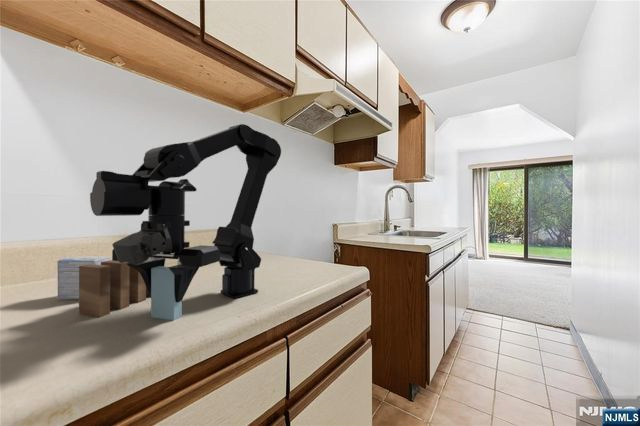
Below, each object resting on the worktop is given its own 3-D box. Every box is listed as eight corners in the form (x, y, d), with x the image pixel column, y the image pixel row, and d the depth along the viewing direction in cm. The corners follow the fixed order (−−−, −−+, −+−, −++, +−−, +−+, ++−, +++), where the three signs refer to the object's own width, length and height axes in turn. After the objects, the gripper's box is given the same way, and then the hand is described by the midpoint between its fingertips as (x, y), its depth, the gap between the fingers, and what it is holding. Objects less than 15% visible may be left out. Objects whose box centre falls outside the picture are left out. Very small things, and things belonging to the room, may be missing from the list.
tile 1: (159, 313, 49) (159, 266, 49) (181, 316, 48) (182, 267, 48) (151, 317, 47) (151, 268, 47) (174, 320, 46) (174, 270, 46)
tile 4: (109, 303, 54) (110, 260, 53) (129, 306, 52) (129, 261, 52) (100, 306, 52) (100, 262, 52) (120, 309, 51) (120, 263, 51)
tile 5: (89, 310, 50) (89, 264, 50) (110, 313, 49) (110, 265, 49) (79, 314, 48) (79, 266, 48) (99, 317, 47) (99, 267, 47)
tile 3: (127, 297, 57) (127, 257, 57) (145, 299, 56) (146, 258, 56) (119, 300, 56) (119, 258, 55) (138, 302, 54) (138, 260, 54)
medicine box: (110, 293, 60) (110, 256, 60) (94, 300, 55) (94, 259, 55) (75, 293, 60) (75, 255, 60) (56, 300, 55) (56, 259, 55)
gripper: (78, 215, 42) (78, 311, 42) (175, 217, 37) (175, 325, 38) (141, 214, 53) (140, 290, 53) (222, 216, 48) (221, 299, 48)
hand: (166, 300), depth 48 cm, fingers closed on tile 1, 5 cm apart
